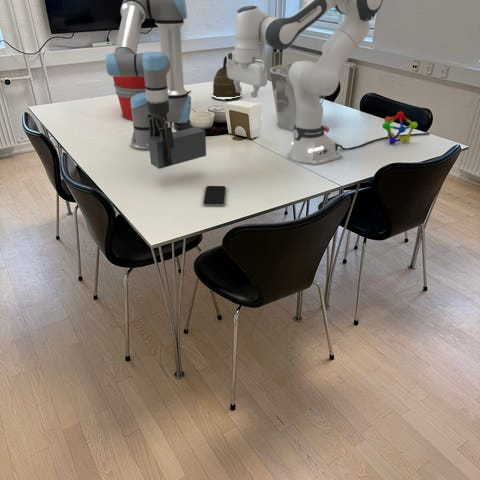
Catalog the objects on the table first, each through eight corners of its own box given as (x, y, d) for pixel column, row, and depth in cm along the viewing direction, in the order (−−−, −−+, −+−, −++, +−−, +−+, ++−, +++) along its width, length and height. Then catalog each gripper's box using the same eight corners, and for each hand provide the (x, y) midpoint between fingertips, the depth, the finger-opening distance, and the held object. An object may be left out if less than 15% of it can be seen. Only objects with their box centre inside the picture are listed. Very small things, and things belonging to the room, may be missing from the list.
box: (159, 169, 163) (156, 142, 157) (150, 163, 167) (148, 138, 161) (206, 155, 174) (205, 130, 168) (197, 151, 178) (196, 126, 172)
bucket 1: (122, 105, 263) (114, 51, 248) (180, 106, 263) (177, 52, 247) (105, 123, 234) (95, 63, 218) (171, 124, 233) (166, 64, 217)
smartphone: (203, 204, 154) (206, 185, 167) (203, 205, 155) (206, 187, 167) (223, 204, 154) (225, 185, 167) (223, 206, 155) (225, 187, 167)
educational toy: (377, 146, 209) (379, 114, 202) (384, 138, 219) (386, 107, 211) (411, 149, 202) (415, 116, 195) (417, 141, 212) (420, 109, 204)
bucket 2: (296, 138, 215) (301, 78, 201) (255, 124, 234) (256, 68, 219) (335, 125, 232) (342, 70, 217) (294, 113, 251) (297, 61, 236)
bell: (227, 105, 294) (202, 96, 282) (238, 66, 289) (213, 55, 277) (243, 108, 280) (217, 98, 268) (255, 66, 275) (229, 55, 263)
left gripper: (181, 105, 149) (185, 168, 162) (153, 93, 162) (159, 152, 175) (162, 109, 145) (167, 173, 158) (135, 96, 158) (142, 157, 171)
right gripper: (272, 59, 157) (270, 99, 164) (236, 51, 170) (236, 88, 178) (258, 61, 154) (257, 101, 161) (223, 53, 167) (224, 90, 174)
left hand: (163, 162), depth 166 cm, fingers closed on box, 6 cm apart
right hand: (246, 94), depth 169 cm, fingers open, 8 cm apart
